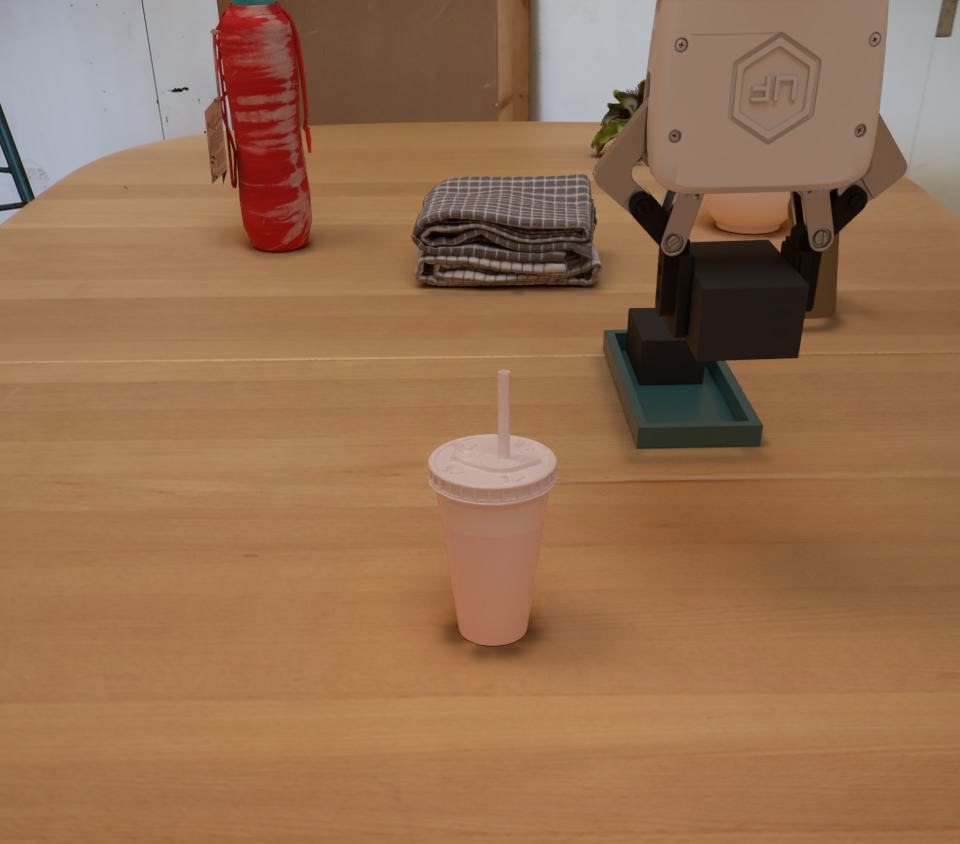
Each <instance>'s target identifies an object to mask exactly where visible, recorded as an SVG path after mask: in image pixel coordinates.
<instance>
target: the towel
mask: <svg viewBox="0 0 960 844" xmlns="http://www.w3.org/2000/svg"><path fill="white" fill-rule="evenodd" d="M591 186H592V183H591V180H590V179H589V177H588V175H587V174H584V173H575V174H570V175H550V176H544V175H539V176H487V175H485V176H453V177H451V178H449V177H448V178H445V179H444V180H442V181H441V182H439V183H437V184H436V185H435V186H433V187H432V189H430V191H429V192H427V194H426V195H425V196H424V198H423V200H422V208H421V210H420V211H419V213H418V215H417V218H416V221H415V223H414V225H413V229H412V233H411V235H410V237H411V240H412V242H413V243H414V245H415V246H416V247H417V248H418V251H417V256H416V261H415V269H414V273H413V275H414V278H415V280H416V281H418V282H421V283H426V284H427V285H432V286H438V287H440V286H441V287H446V286H448V287H454V286H458V287H477V286H483V287H484V286H493V287H494V286H513V285H514V286H523V285H524V286H530V285H531V286H532V285H533V286H534V285H544V284H545V285H563V286H564V285H565V286H566V285H576V286H591V285H592V286H593V285H594V284H595V283H596V282H597V281H598V277H599V275H600V273H601V271H602V268H603V266H602V262H601V259H600V254H599V252H598V250H597V248H596V244H595V243H594V234H595V231H596V226H597V225H598V218H597V216H596V215H597V209H596V207H595V199H594V198H592V197H593V196H592V188H591Z"/></svg>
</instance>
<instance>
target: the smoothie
mask: <svg viewBox="0 0 960 844" xmlns="http://www.w3.org/2000/svg"><path fill="white" fill-rule="evenodd" d="M510 417H511V371H510V370H508V369H500V370H498V371H497V433H484V434H474V435H468V436H461V437H459V438H456V439H453V440H449V441H447V442H445V443H443V444H441V445H440V446H438V447H437V448H436V449H434V450H433V451H432V453H430V455H429V457H428V462H427V463H428V473H427V478H426V479H427V482H428V485H429V487H430V488H431V489H432V490H433V491H434V492H435V493H436V499H437V506H438V513H439V518H440V523H441V529H442V536H443V543H444V548H445V555H446V559H447V565H448V572H449V577H450V583H451V590H452V595H453V602H454V607H455V614H456V619H457V626H458V632H459V633H460V635H461V636H462V637H463V638H464V639H466V640H467V641H469V642H471V643H473V644H477V645H481V646H486V647H487V646H489V647H497V646H505V645H509V644H513V643H515V642H517V641H519V640H520V639H522V638H523V637H524V636H525V635H526V633H527V630H528V625H529V620H530V613H531V607H532V601H533V595H534V589H535V581H536V575H537V570H538V565H539V558H540V557H539V556H540V551H541V545H542V538H543V532H544V526H545V521H546V515H547V509H548V502H549V495H550V491H552V490H553V489H554V488H555V485H556V484H557V482H558V472H557V471H558V470H557V466H558V459H557V456H556V454H555V452H553V451H552V450H551V448H549V447H548V446H546V445H545V444H543V443H541V442H539V441H536V440H535V439H531V438H528V437H524V436H520V435H513V434H510V428H511V427H510V425H511V422H510V421H511V420H510V419H511V418H510Z"/></svg>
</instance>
